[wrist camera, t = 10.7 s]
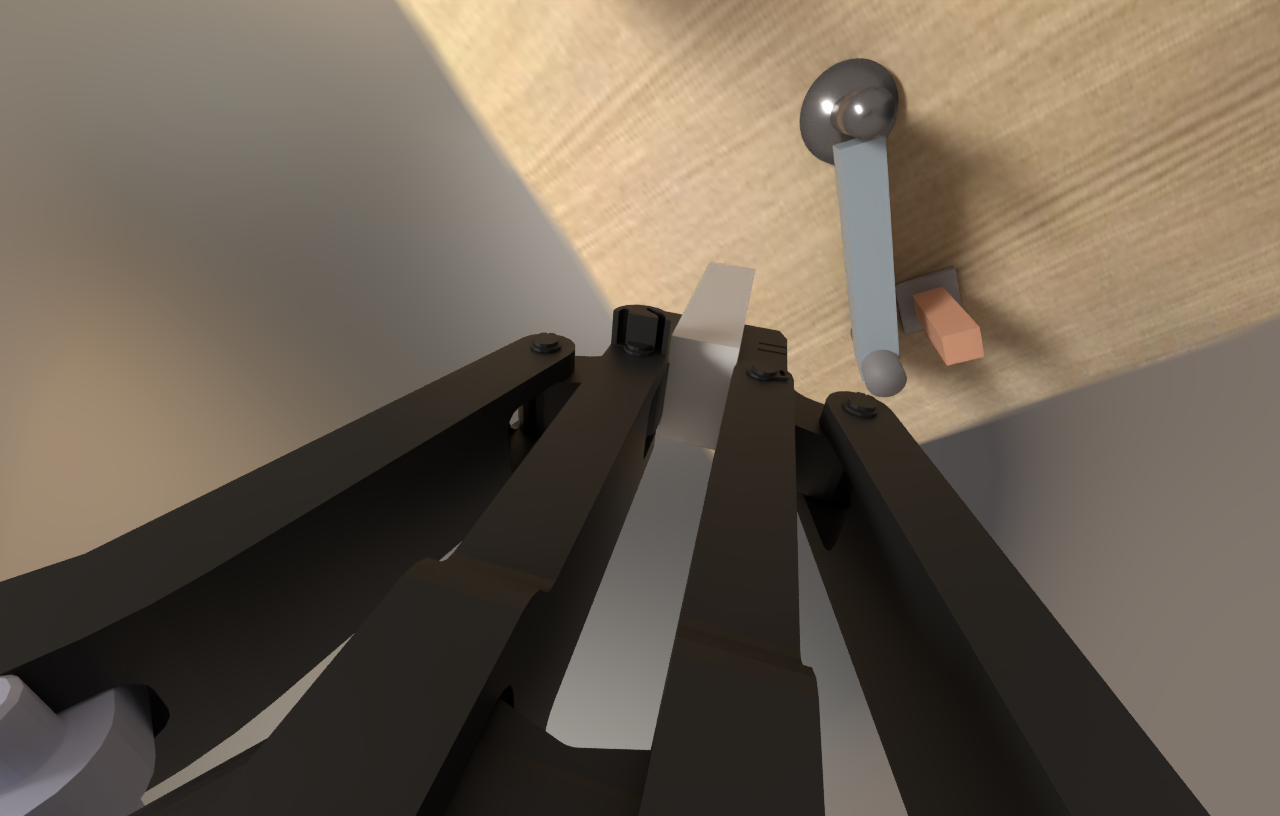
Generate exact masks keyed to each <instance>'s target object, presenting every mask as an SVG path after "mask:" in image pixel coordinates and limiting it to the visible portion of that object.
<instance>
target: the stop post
mask: <svg viewBox="0 0 1280 816" xmlns="http://www.w3.org/2000/svg"><path fill="white" fill-rule="evenodd" d="M895 294H896V299H897V304H898V308H899V313H900V317H901V322H902V326H903V331H904V333H905V335H907V334H911V333H914V332H918V331H922V330H924V331H925V332H926V334H927V335H928V337H929V339H930V340H931V342H932V343H933V345H934V346H935V348H936V349H937V351H938V353H939V354H940V356H941V357H942V359H943V360H944V362H945V363H946V365H947V366H948V365H952V364H956V363H960V362H964V361H968V360H972V359H977V358H981V357H984V352H983V346H982V339H981V333H980V327H979V326H978V325H977V324H976V323H975V321H974V320H973V319H972V318H971V317H970V316H969V315H968V314H967V313H966V312H965V311H964V309H963V308H962V303H961V298H960V292H959V286H958V280H957V274H956V268H954V267H950V268H947V269H943V270H940V271H937V272H934V273H931V274H927V275H924V276H921V277H918V278H915V279H911V280H908V281H905V282H902V283H899V284H895Z"/></svg>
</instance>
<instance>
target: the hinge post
mask: <svg viewBox="0 0 1280 816" xmlns="http://www.w3.org/2000/svg"><path fill="white" fill-rule="evenodd" d="M897 110H898V92H897V88H896V84H895V82H894V80H893V78H892V76H891V75H890V73H889V72H888V71H887V70H886V69H885V68H884V67H883V66H882V65H880V64H878V63H877V62H874V61H872V60H868V59H859V58H856V59H849V60H845V61H842V62H840V63H837V64H835V65H834V66H832V67H830V68H829V69H827V70H826V71H825V72H824V73H822V74H821V75H820V76H819V77H818V78H817V80H816V81H815V82H814V83H813V85H812V86H811V87H810V89H809V91H808V93H807V94H806V96H805V99H804V101H803V104H802V108H801V113H800V130H801V135H802V138H803V141H804V143H805V145H806V146H807V148H808V149H809V151H810V152H811V153H812V154H813V155H814V156H816V157H817V158H818V159H820V160H822V161H824V162H827V163H831V164H835V163H834V154H833V145H836V144H839V143H842V142H846V141H849V140H853V139H856V138H860V139H871V138H874V137H876V136H878V135H881V136H886V137H887V136H888V134H889V132H890V131H891V129H892V127H893V124H894V122H895V119H896V115H897Z"/></svg>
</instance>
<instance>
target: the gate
mask: <svg viewBox="0 0 1280 816" xmlns="http://www.w3.org/2000/svg"><path fill="white" fill-rule="evenodd" d="M833 154H834V163H835V173H836V182H837V192H838V202H839V211H840V221H841V230H842V240H843V249H844V259H845V268H846V278H847V288H848V297H849V307H850V316H851V326H852V327H851V336H852V340H853V345H854V353H855V357H856V360H857V364H858V367H859V371H860V374H861V378H862V381H865V384H866V387H867V389H868V390H869V392H870V393H872V394H873V395H875V396H878V397H890V396H893V395H896V394H897V393H899V392H900V391H901V390H902V389H903V388H904V386H905V385H906V381H907V377H906V373H905V371H904V369H903V367H902V365H901V363H900V359H899V343H898V327H897V311H896V294H895V278H894V262H893V246H892V230H891V214H890V198H889V182H888V166H887V150H886V136H881V135H878V136H876V137H874V138H871V139H860V138H856V139H853V140H849V141H846V142H842V143H839V144H836V145H833Z"/></svg>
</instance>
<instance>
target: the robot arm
mask: <svg viewBox="0 0 1280 816" xmlns="http://www.w3.org/2000/svg"><path fill="white" fill-rule="evenodd" d="M754 274H755V269H751V268H745V267H739V266H733V265H727V264H721V263H715V262H709V264H708V266H707V268H706V270H705V272H704V274H703V276H702V278H701V280H700V282H699V284H698V286H697V288H696V290H695V291H694V293H693V295H692V297H691V299H690V301H689V303H688V305H687V307H686V309H685V311H684V313H683V315H682V314H677V313H671V312H666V311H663V310H661V309H659V308H655V307H651V306H645V305H625V306H621V307H618V308H616V309H615V310H614V312H613V326H612V339H611V345H610V346H609V348H608V349H607V350H606V352H605V353H604V354H603V355H602V356H598V357H597V356H596V357H589V356H575V344H574V343H573V342H572V341H571V340H570V339H568V338H565V337H563V336H559V335H556V334H554V333H549V334H547V333H540V334H535V335H529V336H526V337H523V338H521V339H519V340H517V341H515V342H513V343H511V344H509V345H507V346H505V347H503V348H501V349H499V350H497V351H495V352H493V353H491V354H489V355H487V356H485V357H483V358H481V359H479V360H477V361H474V362H473V363H471V364H468V365H466V366H464V367H462V368H460V369H458V370H456V371H455V372H452V373H450V374H448V375H447V376H444V377H442V378H440V379H438V380H436V381H434V382H432V383H430V384H428V385H426V386H424V387H422V388H420V389H418V390H416V391H414V392H412V393H410V394H408V395H406V396H404V397H402V398H400V399H397V400H395V401H393V402H391V403H389V404H387V405H385V406H383V407H381V408H380V409H377V410H375V411H373V412H371V413H369V414H367V415H365V416H363V417H361V418H359V419H357V420H355V421H353V422H351V423H349V424H347V425H345V426H343V427H341V428H339V429H337V430H335V431H333V432H331V433H329V434H327V435H325V436H323V437H321V438H318V439H317V440H314V441H312V442H310V443H309V444H306V445H304V446H302V447H300V448H298V449H296V450H294V451H292V452H290V453H288V454H286V455H284V456H282V457H280V458H278V459H276V460H274V461H272V462H270V463H268V464H266V465H264V466H262V467H260V468H258V469H256V470H254V471H252V472H250V473H248V474H246V475H244V476H241V477H239V478H238V479H236V480H233V481H231V482H229V483H227V484H225V485H223V486H221V487H219V488H217V489H215V490H213V491H211V492H209V493H207V494H205V495H203V496H201V497H199V498H197V499H195V500H193V501H191V502H189V503H187V504H185V505H183V506H181V507H179V508H177V509H175V510H173V511H171V512H168V513H166V514H164V515H163V516H160V517H158V518H156V519H154V520H153V521H150V522H148V523H146V524H144V525H142V526H140V527H138V528H136V529H134V530H132V531H130V532H128V533H126V534H124V535H122V536H120V537H118V538H116V539H114V540H112V541H110V542H108V543H106V544H104V545H102V546H100V547H98V548H96V549H94V550H92V551H89V552H87V553H86V554H83V555H80V556H77V557H74V558H71V559H68V560H65V561H62V562H59V563H56V564H53V565H50V566H47V567H44V568H41V569H38V570H35V571H32V572H29V573H26V574H23V575H20V576H17V577H14V578H11V579H8V580H5V581H2V582H0V816H825V807H824V790H823V789H824V788H823V769H822V751H821V732H820V713H819V697H818V689H817V681H816V677H815V674H814V672H813V669H812V667H808V666H805V665H803V664H802V661H801V656H800V629H799V628H800V627H799V586H798V585H799V584H798V542H797V512H798V515H799V518H800V520H801V523H802V526H803V528H804V531H805V534H806V537H807V539H808V542H809V545H810V547H811V550H812V553H813V556H814V559H815V561H816V564H817V567H818V570H819V572H820V575H821V578H822V581H823V583H824V586H825V589H826V592H827V594H828V597H829V600H830V603H831V605H832V608H833V611H834V614H835V616H836V618H837V622H838V624H839V627H840V630H841V633H842V635H843V638H844V641H845V644H846V646H847V649H848V652H849V655H850V657H851V660H852V663H853V665H854V668H855V671H856V674H857V676H858V679H859V682H860V685H861V687H862V690H863V693H864V695H865V698H866V701H867V704H868V707H869V709H870V712H871V715H872V717H873V720H874V723H875V726H876V729H877V731H878V734H879V736H880V739H881V742H882V745H883V748H884V751H885V753H886V756H887V759H888V761H889V764H890V767H891V770H892V772H893V775H894V778H895V781H896V783H897V786H898V789H899V791H900V794H901V797H902V800H903V803H904V805H905V808H906V811H907V814H908V816H1210V815H1209V813H1208V812H1207V811H1206V810H1205V808H1204V807H1203V806H1202V805H1201V803H1200V802H1199V801H1198V800H1197V798H1196V797H1195V796H1194V794H1193V793H1192V792H1191V790H1190V789H1189V788H1188V787H1187V785H1186V784H1185V783H1184V782H1183V780H1182V779H1181V778H1180V776H1179V775H1178V774H1177V773H1176V771H1175V770H1174V769H1173V768H1172V766H1171V765H1170V764H1169V763H1168V761H1167V760H1166V759H1165V757H1164V756H1163V755H1162V754H1161V752H1160V751H1159V750H1158V748H1157V747H1156V746H1155V745H1154V743H1153V742H1152V741H1151V740H1150V738H1149V737H1148V736H1147V734H1146V733H1145V732H1144V731H1143V730H1142V728H1141V727H1140V726H1139V725H1138V723H1137V722H1136V721H1135V719H1134V718H1133V717H1132V715H1131V714H1130V713H1129V712H1128V710H1127V709H1126V708H1125V707H1124V705H1123V704H1122V703H1121V702H1120V700H1119V699H1118V698H1117V697H1116V695H1115V694H1114V693H1113V691H1112V690H1111V689H1110V687H1109V686H1108V685H1107V684H1106V682H1105V681H1104V680H1103V679H1102V677H1101V676H1100V675H1099V674H1098V672H1097V671H1096V670H1095V668H1094V667H1093V666H1092V665H1091V663H1090V662H1089V661H1088V660H1087V658H1086V657H1085V656H1084V655H1083V653H1082V652H1081V651H1080V649H1079V648H1078V647H1077V646H1076V644H1075V643H1074V642H1073V640H1072V639H1071V638H1070V637H1069V635H1068V634H1067V633H1066V632H1065V630H1064V629H1063V628H1062V627H1061V625H1060V624H1059V623H1058V621H1057V620H1056V619H1055V618H1054V616H1053V615H1052V614H1051V612H1050V611H1049V610H1048V609H1047V607H1046V606H1045V605H1044V604H1043V602H1042V601H1041V600H1040V598H1039V597H1038V596H1037V595H1036V593H1035V592H1034V591H1033V590H1032V588H1031V587H1030V586H1029V584H1028V583H1027V582H1026V581H1025V579H1024V578H1023V577H1022V576H1021V574H1020V573H1019V572H1018V571H1017V569H1016V568H1015V567H1014V566H1013V564H1012V563H1011V562H1010V560H1009V559H1008V558H1007V556H1006V555H1005V554H1004V553H1003V551H1002V550H1001V549H1000V548H999V546H998V545H997V544H996V543H995V541H994V540H993V539H992V537H991V536H990V535H989V534H988V532H987V531H986V530H985V529H984V528H983V526H982V525H981V523H980V522H979V521H978V520H977V518H976V517H975V516H974V515H973V513H972V512H971V511H970V509H969V508H968V507H967V506H966V504H965V503H964V502H963V501H962V499H961V498H960V497H959V495H958V494H957V493H956V492H955V490H954V489H953V488H952V487H951V485H950V484H949V483H948V481H947V480H946V479H945V478H944V477H943V475H942V474H941V473H940V471H939V470H938V469H937V467H936V466H935V465H934V464H933V462H932V461H931V460H930V459H929V457H928V456H927V455H926V454H925V452H924V451H923V450H922V448H921V447H920V446H919V445H918V443H917V442H916V441H915V440H914V438H913V437H912V436H911V434H910V433H909V432H908V431H907V429H906V428H905V427H904V426H903V424H902V423H901V422H900V420H899V419H898V418H897V417H896V415H895V414H894V413H893V412H892V410H891V409H889V408H888V407H887V406H886V405H885V404H884V403H882V402H880V401H878V400H876V399H875V398H874V397H872V396H870V395H867V396H866V394H864V393H860V392H857V393H855V392H849V391H840V392H835V393H832V394H830V395H829V396H828V397H827V399H826V402H825V405H824V404H822V403H819V402H816V401H813V400H811V399H809V398H807V397H804V396H803V395H801V394H799V393H798V392H796V391H795V390H794V379H793V377H792V375H791V374H790V373H789V372H788V371H787V339H786V338H785V337H784V335H783V334H782V333H781V332H780V331H777V330H771V329H766V328H761V327H755V326H750V325H745V319H746V314H747V309H748V304H749V299H750V294H751V289H752V284H753V279H754ZM517 409H518V417H519V420H518V421H517V422H515V423H514V424H513V425H510V423H509V422H510V419H511V417H512V415H513V413H514V412H515V411H516V410H517ZM658 424H659V428H658V435H657V436H658V437H660V438H665V439H669V440H674V441H678V442H683V443H687V444H691V445H696V446H700V447H705V448H709V449H713V450H715V454H714V459H713V463H712V468H711V472H710V477H709V481H708V487H707V491H706V496H705V500H704V505H703V509H702V514H701V519H700V523H699V528H698V533H697V537H696V542H695V547H694V551H693V556H692V561H691V565H690V570H689V574H688V579H687V584H686V588H685V593H684V598H683V602H682V608H681V612H680V616H679V621H678V626H677V631H676V635H675V639H674V644H673V649H672V654H671V658H670V663H669V667H668V673H667V677H666V681H665V686H664V690H663V695H662V700H661V704H660V709H659V714H658V718H657V723H656V728H655V732H654V737H653V742H652V746H651V750H630V749H597V748H575V747H571V746H567V745H565V744H563V743H562V742H560V741H559V740H557V739H556V738H554V737H553V736H552V735H550V734H549V733H547V732H546V726H547V722H548V718H549V715H550V711H551V709H552V706H553V703H554V700H555V698H556V695H557V693H558V690H559V688H560V685H561V683H562V680H563V677H564V675H565V672H566V670H567V667H568V664H569V662H570V660H571V657H572V655H573V652H574V649H575V647H576V644H577V642H578V639H579V636H580V634H581V631H582V629H583V626H584V624H585V621H586V619H587V616H588V614H589V611H590V608H591V606H592V604H593V601H594V598H595V596H596V593H597V591H598V588H599V586H600V583H601V581H602V578H603V575H604V573H605V570H606V568H607V565H608V563H609V560H610V558H611V555H612V553H613V550H614V547H615V545H616V542H617V539H618V537H619V535H620V532H621V529H622V527H623V524H624V522H625V519H626V517H627V514H628V512H629V509H630V506H631V504H632V501H633V499H634V496H635V494H636V491H637V489H638V486H639V484H640V481H641V479H642V476H643V473H644V471H645V468H646V466H647V463H648V461H649V458H650V455H651V453H652V450H653V448H654V441H655V434H656V429H657V427H658ZM462 540H463V541H462ZM461 541H462V542H461ZM460 542H461V543H460ZM459 543H460V545H459V546H458V547H457V549H456V550H455V552H454V553H453V554H452V555H451V556H450V557H449V558H448V559H447V560H444V561H442V562H441V561H439V560H440V559H442V557H444V556H445V555H446V554H447V553H448V552H450V551H451V550H452V549H453V548H454V547H455V546H457V545H458V544H459ZM353 634H354V635H353ZM352 635H353V636H352ZM351 636H352V637H351ZM349 637H351V639H350V640H349V641H348V642H347V643H346V644H345V646H344V647H343V648H342V649H341V651H340V652H339V653H338V654H337V655H336V656H335V658H334V659H333V660H332V661H331V663H330V664H329V665H328V666H327V668H326V669H325V670H324V671H323V672H322V673H321V675H320V676H319V677H318V678H317V679H316V681H315V682H314V683H313V684H312V685H311V687H310V688H309V689H308V690H307V691H306V693H305V694H304V695H303V696H302V697H301V699H300V700H299V701H298V703H297V704H296V705H295V706H294V707H293V708H292V710H291V711H290V712H289V713H288V714H287V716H286V717H285V718H284V719H283V721H282V722H281V723H280V724H279V725H278V726H277V728H276V729H275V730H274V731H273V732H272V734H271V735H270V736H269V737H268V738H267V739H265V740H263V741H262V742H260V743H258V744H256V745H254V746H252V747H251V748H249V749H247V750H245V751H244V752H242V753H240V754H238V755H237V756H235V757H233V758H231V759H229V760H227V761H225V762H224V763H222V764H220V765H218V766H216V767H214V768H213V769H211V770H209V771H207V772H206V773H204V774H202V775H200V776H198V777H196V778H195V779H193V780H191V781H189V782H187V783H185V784H184V785H182V786H180V787H178V788H177V789H175V790H173V791H171V792H169V793H167V794H166V795H164V796H162V797H160V798H158V799H157V800H155V801H153V802H151V803H149V804H148V805H146V806H145V805H144V804H143V802H142V801H141V797H142V796H143V794H144V793H145V792H146V791H148V790H150V789H151V788H153V787H154V786H156V785H158V784H159V783H161V782H163V781H164V780H166V779H167V778H169V777H171V776H173V775H174V774H176V773H177V772H179V771H181V770H182V769H184V768H186V767H187V766H188V765H190V764H191V763H193V762H194V761H196V760H197V759H199V758H200V757H201V756H203V755H204V754H206V753H207V752H209V751H210V750H212V749H213V748H214V747H216V746H217V745H219V744H220V743H222V742H223V741H224V740H226V739H227V738H229V737H230V736H232V735H233V734H234V733H236V732H237V731H238V730H240V728H242V727H243V726H244V725H246V724H247V723H248V722H250V721H251V720H252V719H253V718H255V717H256V716H257V715H258V714H260V713H261V712H262V711H263V710H265V709H266V708H267V707H268V706H270V705H271V704H272V703H273V702H275V701H276V700H277V699H278V698H279V697H281V696H282V695H283V694H284V693H285V692H286V691H288V690H289V689H290V688H291V687H292V686H293V685H295V684H296V683H297V682H298V681H299V680H300V679H301V678H303V677H304V676H305V675H306V674H307V673H309V672H310V671H311V670H312V669H313V668H314V667H316V666H317V665H318V664H319V663H320V662H321V661H322V660H324V659H325V658H326V657H327V656H328V655H330V654H331V653H332V652H333V651H334V650H335V649H337V647H339V646H340V645H341V644H342V643H344V642H345V641H346V640H347V639H348V638H349Z"/></svg>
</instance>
